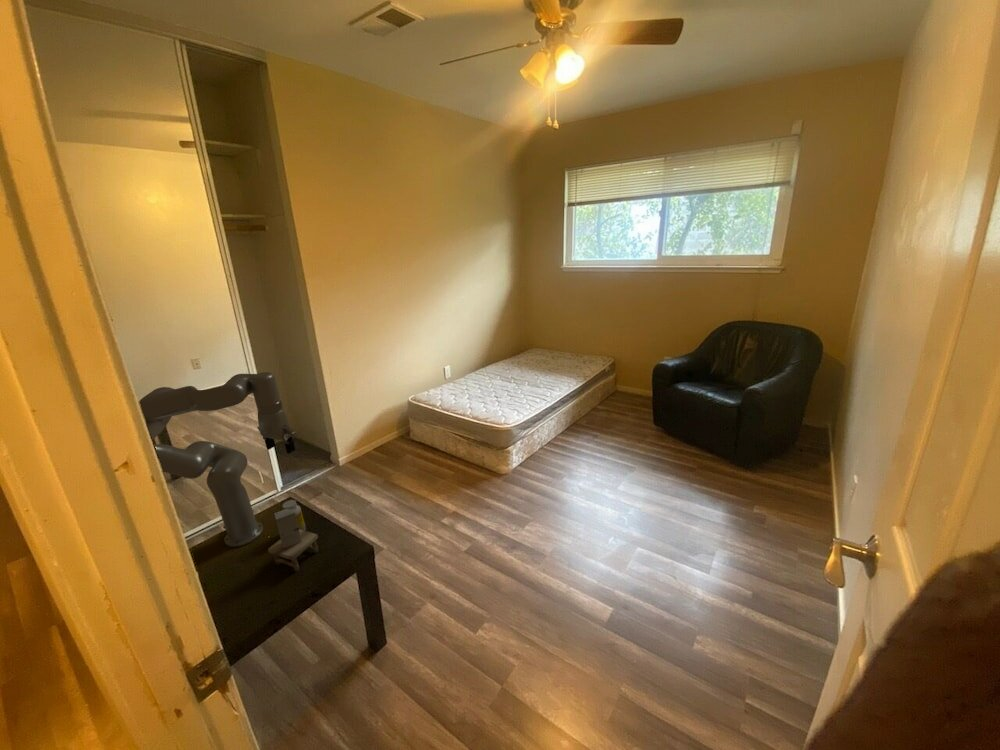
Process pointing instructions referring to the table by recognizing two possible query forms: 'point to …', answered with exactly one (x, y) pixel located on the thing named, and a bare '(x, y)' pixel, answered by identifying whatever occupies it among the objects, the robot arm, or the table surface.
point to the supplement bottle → (298, 513)
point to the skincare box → (288, 527)
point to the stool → (294, 549)
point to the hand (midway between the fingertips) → (281, 449)
